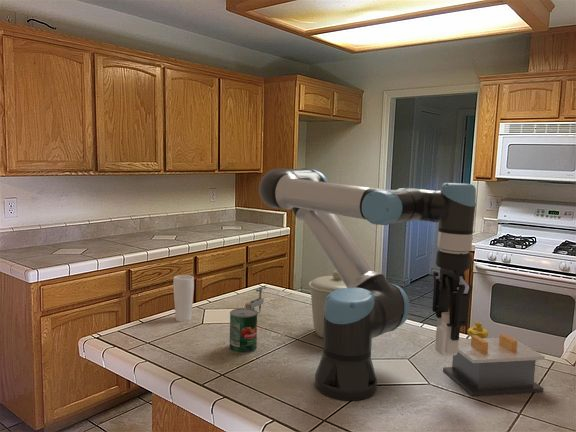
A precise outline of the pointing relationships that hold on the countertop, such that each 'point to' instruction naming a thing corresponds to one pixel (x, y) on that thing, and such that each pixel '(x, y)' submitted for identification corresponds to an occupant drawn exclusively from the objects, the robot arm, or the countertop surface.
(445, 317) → the pepper shaker
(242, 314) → the canned tomato
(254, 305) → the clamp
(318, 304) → the canister
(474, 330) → the pressure relief valve
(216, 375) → the countertop surface
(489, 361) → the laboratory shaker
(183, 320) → the drinking glass
